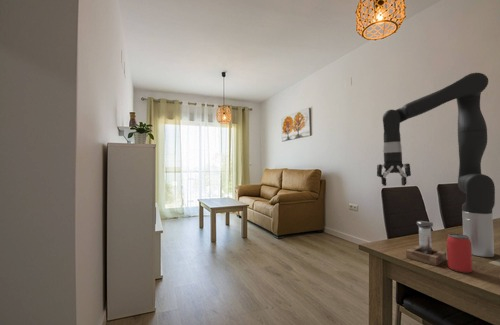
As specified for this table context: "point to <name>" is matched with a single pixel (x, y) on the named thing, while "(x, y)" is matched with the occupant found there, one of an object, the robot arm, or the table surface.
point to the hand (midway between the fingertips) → (394, 185)
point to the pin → (425, 237)
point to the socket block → (426, 256)
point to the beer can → (459, 253)
